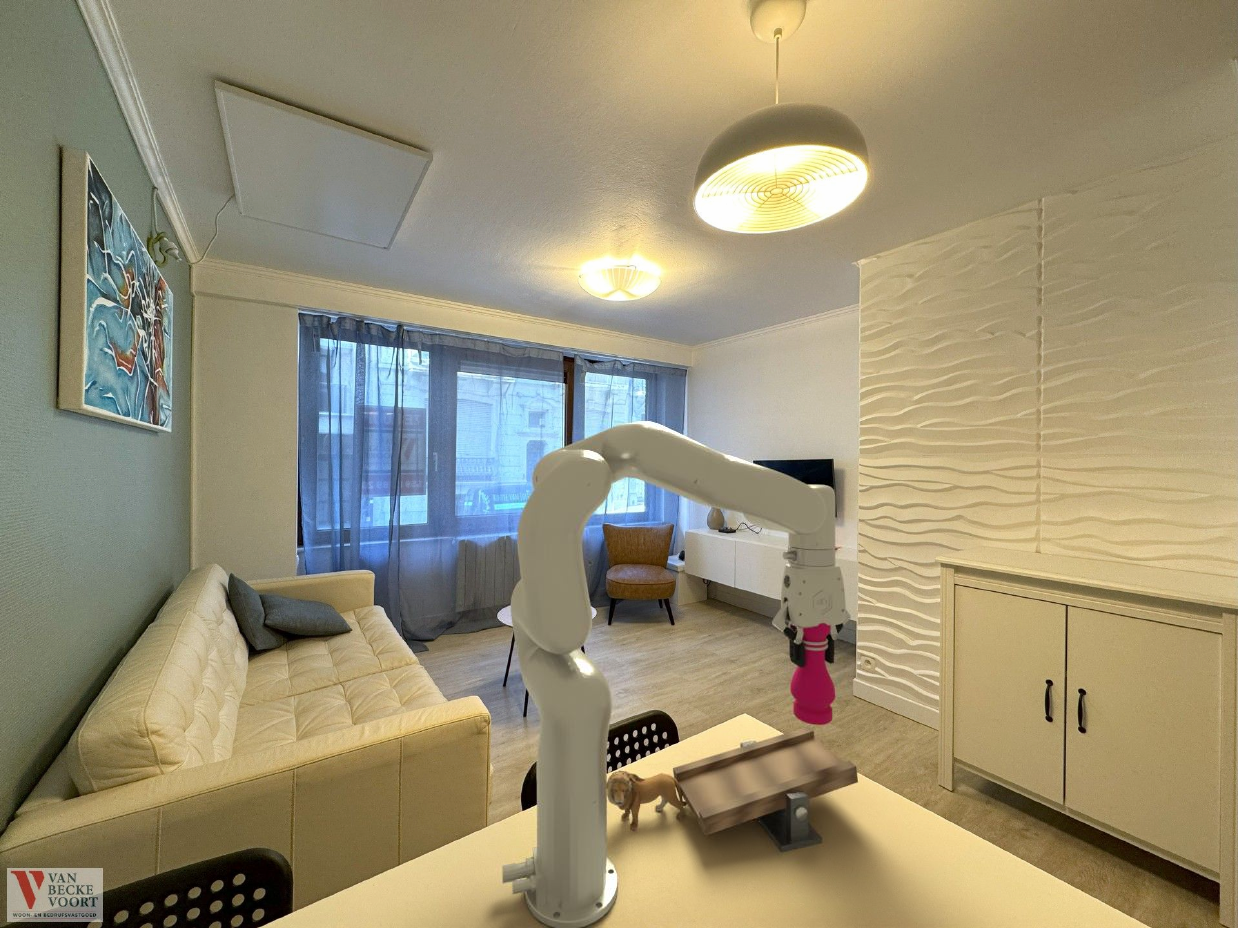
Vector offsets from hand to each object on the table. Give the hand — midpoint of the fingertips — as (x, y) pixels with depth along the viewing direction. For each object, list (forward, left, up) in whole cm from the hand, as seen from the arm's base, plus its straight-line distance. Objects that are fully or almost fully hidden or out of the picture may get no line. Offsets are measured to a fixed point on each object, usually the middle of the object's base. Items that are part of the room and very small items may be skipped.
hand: (812, 661), depth 87 cm
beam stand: (-8, 0, -24) cm, 25 cm away
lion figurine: (-29, +3, -25) cm, 38 cm away
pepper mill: (0, 0, -10) cm, 10 cm away
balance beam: (-9, 0, -19) cm, 22 cm away
